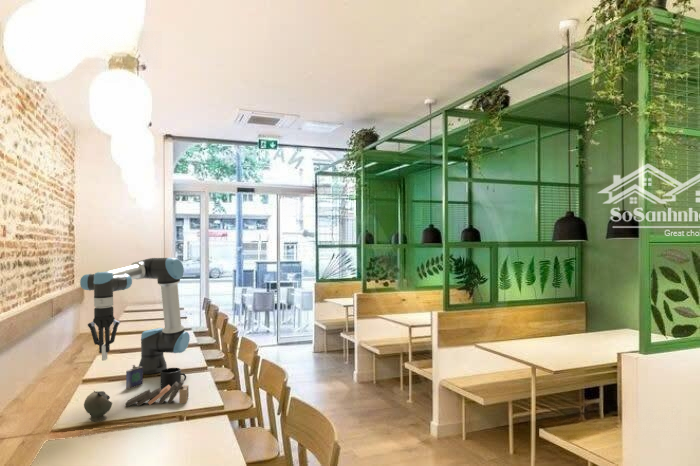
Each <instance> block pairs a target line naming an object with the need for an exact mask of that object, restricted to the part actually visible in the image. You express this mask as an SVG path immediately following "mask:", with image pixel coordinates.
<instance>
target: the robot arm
mask: <svg viewBox="0 0 700 466" xmlns="http://www.w3.org/2000/svg"><path fill="white" fill-rule="evenodd" d="M184 271H185V269H184V265H183V263H182V260H180V259H179V258H176V257H149V258H146V259H142V260H137V261H135V262H132V263H131V264H130V265H126V266H122V267H118V268H115V269H110V270H106V271H100V272H99V271H97V272H95V273H93V274H92V273H88V274H84V275H82V276H81V277H80V281H79V283H80V284H79V285H80V287H81V289H82V290H84V291H89V292H90V291H93V307H94V309H93V311H94V312H93V315H94V318H93V320H92V321H91V322H89V323H87V327H88V328H89V329H90V334H91V336H92V340H93V343H94V345H97V346H98V347H99V348H98V349H99V350H98V351H99V354H100V353H101V361H107V360H108V353H109V352H110V350H111V349H110V345H111V344H113V343H115V339H116V335H117V333H118V332H117V331H118V326H119V325H120V324H121V321H120V320H117V319H116V318H115V317H114V306H113V305H114V292H119V291H125V290H128V289H129V288H130V287H131V286H132V285H133V280H142V279H149V280H151V279H153V280H156V281H157V284H158V285H159V286H160V288H161V289H160V290H161V301H162V312H163V321H164V322H163V323H164V328H163V327H158V328H153V329H146V330H144V331H142V333H141V334H140V338H141V339H140V346H141V347H140V350H141V351H140V352H141V354H140V361H139V363H138V366H141V367H143V375H151V374H152V375H153V374H158V373H160V372H161V370H163V369H167V368H168V365H167V361H166V359H165V356H164V355H165V354H164V353H166V354H167V353H168V354H170V353H171V354H181V353H184V352H185V351H186V350H187V349H188V346H189V345H190V344H189V343H190V340H191V339H190V338H191V337H190V333H189V332H188V331H185V326H183V325H182V320H181V310H180V309H181V308H180V297H179V285H178V284H179V283H180V282H181V279H182V278H183V275H184ZM112 324H113V325H112ZM111 326H113V327H112V332H111V331H110V329H111ZM96 327H97V328H98V333H97V329H96ZM110 333H111V334H110ZM110 335H111V336H110ZM104 341H105V342H104Z"/></svg>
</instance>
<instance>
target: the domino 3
mask: <svg viewBox="0 0 700 466" xmlns="http://www.w3.org/2000/svg"><path fill="white" fill-rule="evenodd" d="M170 388H171V386H170V385H167V386H166V387H165V388H163V389H162V390H161V392H160V393H159V394H158V395H156V396H155V397H153V398H151V399H150V400H148V401H147V404H148V406H151V405H153V403H155V402H156V401H158V400H160V399H161V397H162V396H163V395H164V394H165V393H167V392H168V391H169V390H170Z"/></svg>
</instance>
